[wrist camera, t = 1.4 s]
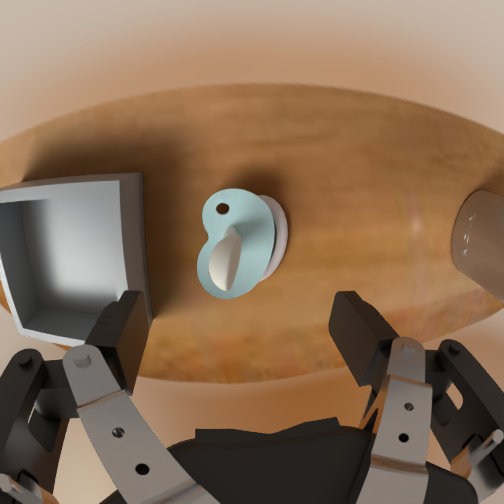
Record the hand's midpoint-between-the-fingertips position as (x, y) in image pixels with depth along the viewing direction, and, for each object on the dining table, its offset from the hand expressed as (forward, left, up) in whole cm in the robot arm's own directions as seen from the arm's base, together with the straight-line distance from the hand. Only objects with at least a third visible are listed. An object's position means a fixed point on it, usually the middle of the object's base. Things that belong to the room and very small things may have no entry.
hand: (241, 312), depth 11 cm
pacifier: (-1, 0, -9) cm, 9 cm away
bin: (+12, +1, -9) cm, 15 cm away
